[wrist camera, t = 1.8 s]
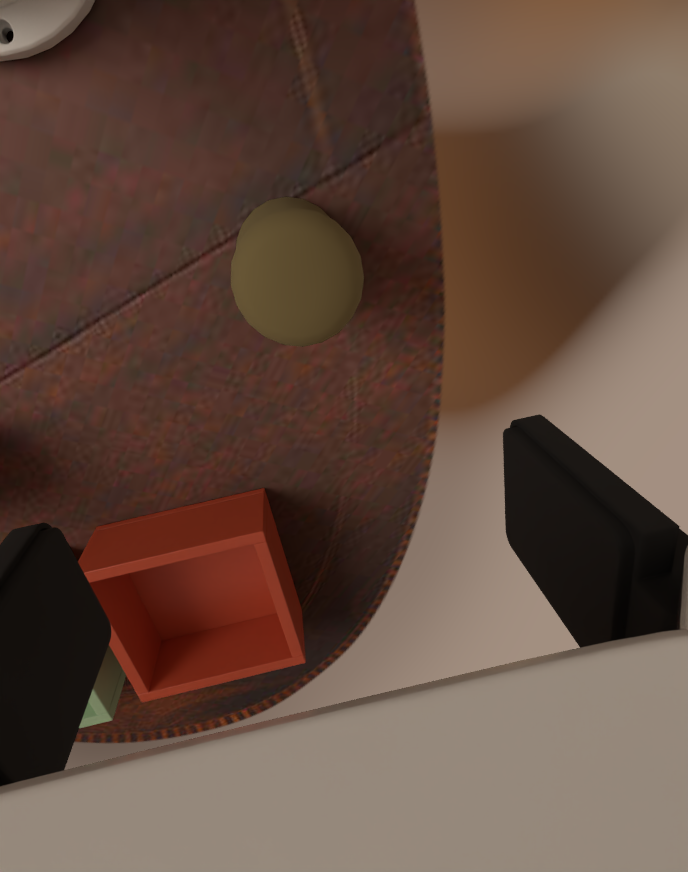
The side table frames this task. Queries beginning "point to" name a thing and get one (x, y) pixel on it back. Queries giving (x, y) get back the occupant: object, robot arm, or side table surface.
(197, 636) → the rust bin
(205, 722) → the side table surface
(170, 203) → the side table surface
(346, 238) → the olive brown pawn
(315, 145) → the side table surface
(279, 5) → the side table surface
